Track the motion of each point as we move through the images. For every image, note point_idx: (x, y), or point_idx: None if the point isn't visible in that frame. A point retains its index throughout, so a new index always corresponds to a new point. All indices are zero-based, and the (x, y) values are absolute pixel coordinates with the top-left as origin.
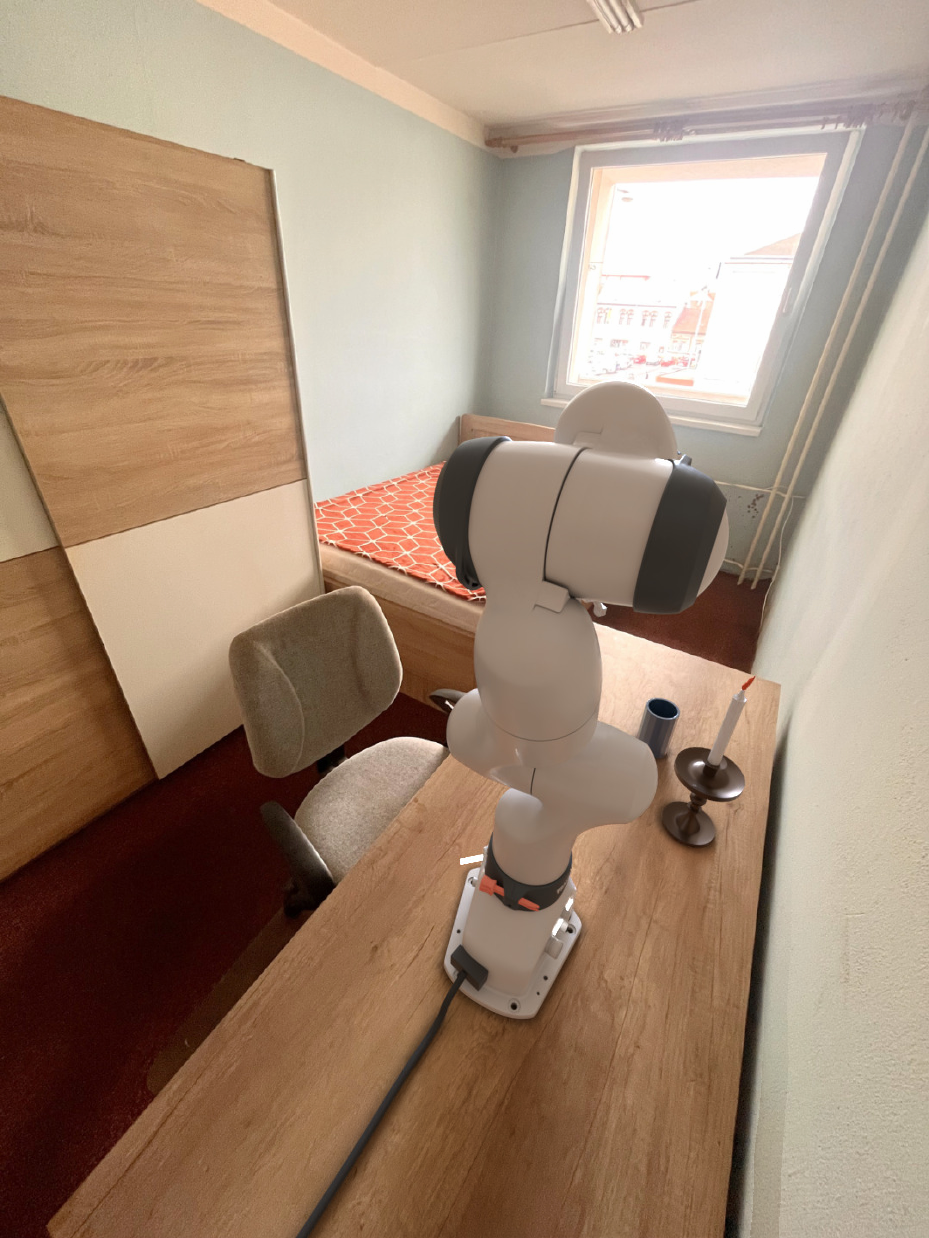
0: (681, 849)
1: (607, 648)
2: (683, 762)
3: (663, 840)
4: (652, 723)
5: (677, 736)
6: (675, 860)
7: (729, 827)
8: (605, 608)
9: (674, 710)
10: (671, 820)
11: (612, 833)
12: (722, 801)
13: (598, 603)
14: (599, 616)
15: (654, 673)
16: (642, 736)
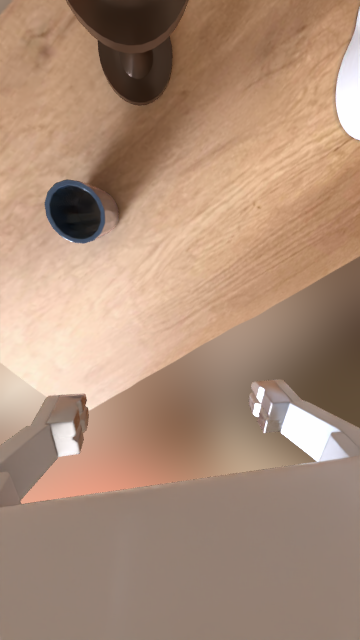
0: None
1: (53, 376)
2: (155, 14)
3: (184, 55)
4: (105, 203)
5: None
6: (192, 11)
7: None
8: (279, 402)
9: (52, 206)
10: (155, 75)
11: (235, 108)
12: None
13: (353, 429)
14: (278, 379)
15: (12, 323)
16: (114, 214)
